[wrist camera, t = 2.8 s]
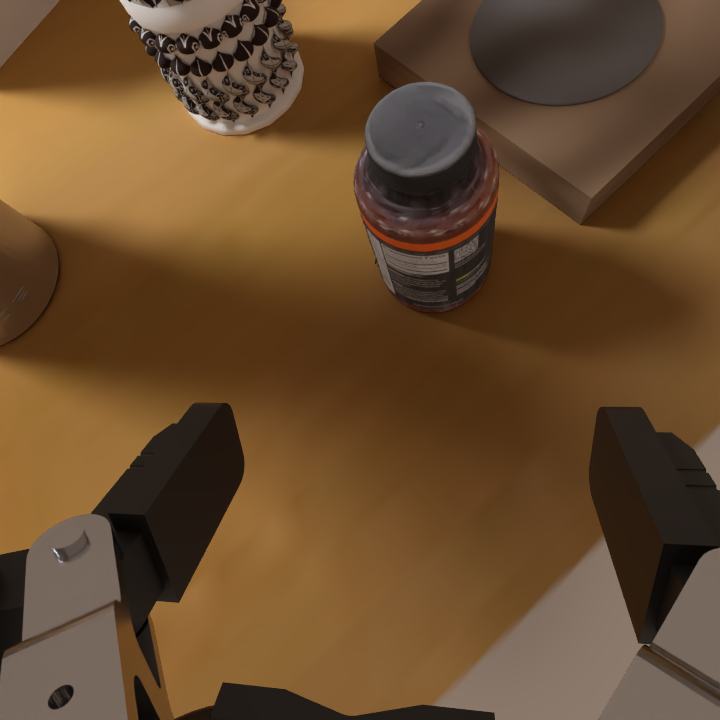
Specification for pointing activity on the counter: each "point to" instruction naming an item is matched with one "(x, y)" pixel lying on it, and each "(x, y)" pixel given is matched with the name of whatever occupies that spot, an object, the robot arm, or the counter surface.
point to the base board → (565, 81)
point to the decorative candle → (223, 58)
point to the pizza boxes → (20, 22)
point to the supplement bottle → (428, 195)
